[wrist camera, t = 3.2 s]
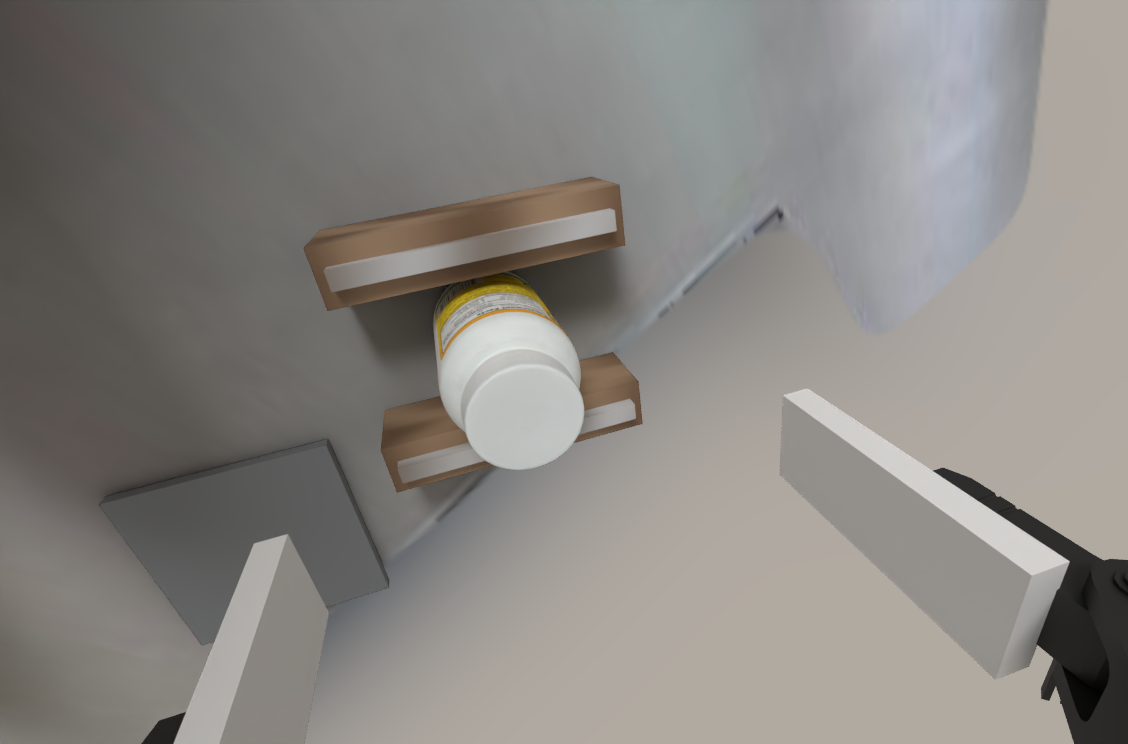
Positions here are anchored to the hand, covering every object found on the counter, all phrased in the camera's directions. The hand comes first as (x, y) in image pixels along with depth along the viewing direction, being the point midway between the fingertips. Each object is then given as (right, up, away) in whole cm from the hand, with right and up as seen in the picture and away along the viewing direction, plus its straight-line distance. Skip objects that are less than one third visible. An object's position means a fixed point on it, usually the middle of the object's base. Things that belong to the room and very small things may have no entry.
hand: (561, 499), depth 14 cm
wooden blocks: (-4, +6, +12) cm, 13 cm away
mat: (-16, -6, +13) cm, 21 cm away
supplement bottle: (-4, +6, +12) cm, 14 cm away
